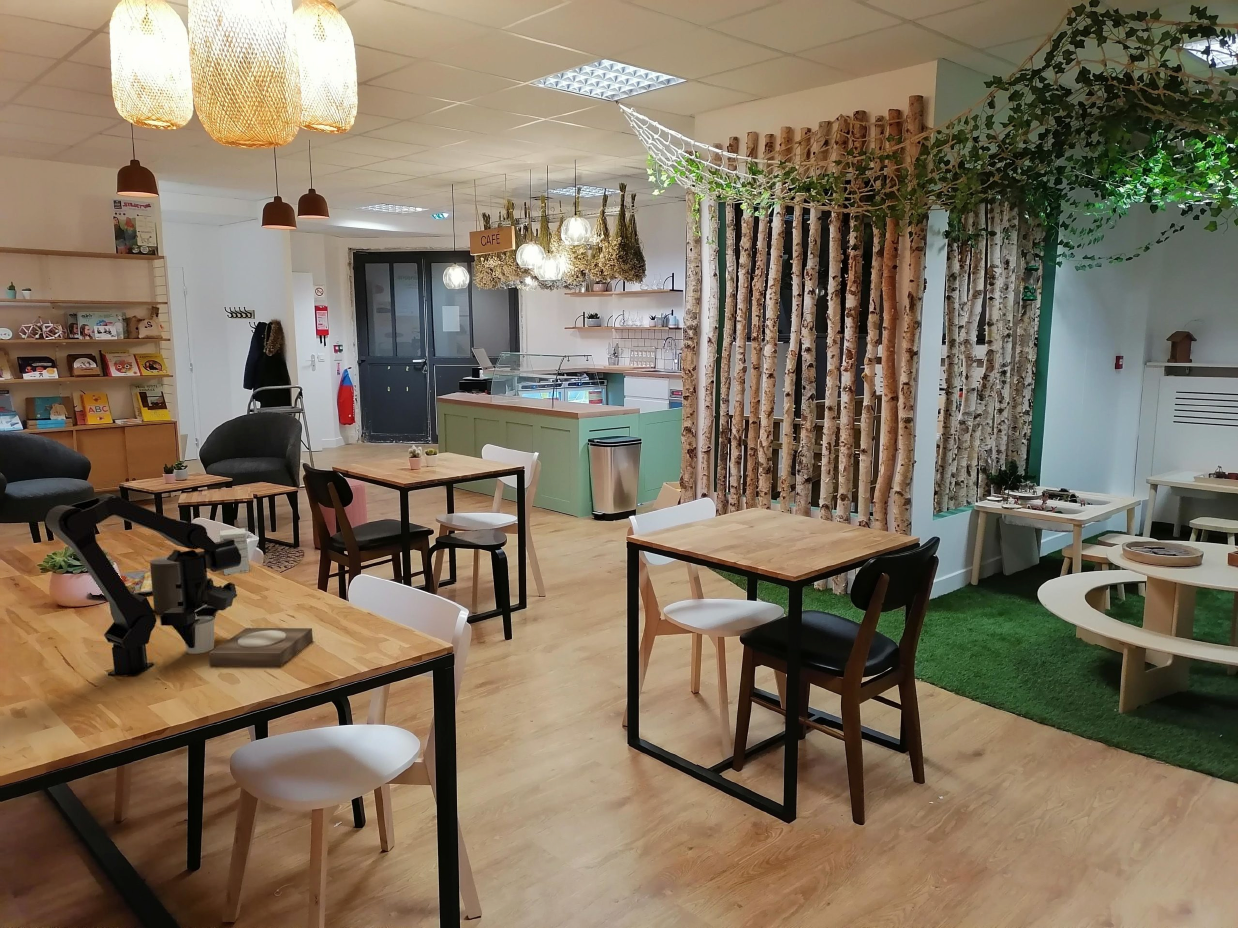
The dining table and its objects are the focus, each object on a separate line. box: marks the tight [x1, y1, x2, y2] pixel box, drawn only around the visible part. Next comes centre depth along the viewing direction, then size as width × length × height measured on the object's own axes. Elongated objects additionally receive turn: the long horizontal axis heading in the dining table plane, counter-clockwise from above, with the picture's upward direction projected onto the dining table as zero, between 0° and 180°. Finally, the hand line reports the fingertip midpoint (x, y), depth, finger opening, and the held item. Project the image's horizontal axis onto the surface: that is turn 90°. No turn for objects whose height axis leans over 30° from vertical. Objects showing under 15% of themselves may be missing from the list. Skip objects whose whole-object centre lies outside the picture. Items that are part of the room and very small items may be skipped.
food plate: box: [121, 569, 152, 595], centre depth 249 cm, size 25×23×4 cm
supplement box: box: [219, 527, 250, 576], centre depth 264 cm, size 7×7×13 cm
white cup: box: [184, 616, 215, 655], centre depth 197 cm, size 7×7×7 cm
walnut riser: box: [208, 627, 314, 667], centre depth 194 cm, size 16×16×4 cm
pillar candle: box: [149, 555, 184, 616], centre depth 227 cm, size 10×10×15 cm
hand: (199, 642), depth 197 cm, fingers closed on white cup, 6 cm apart
